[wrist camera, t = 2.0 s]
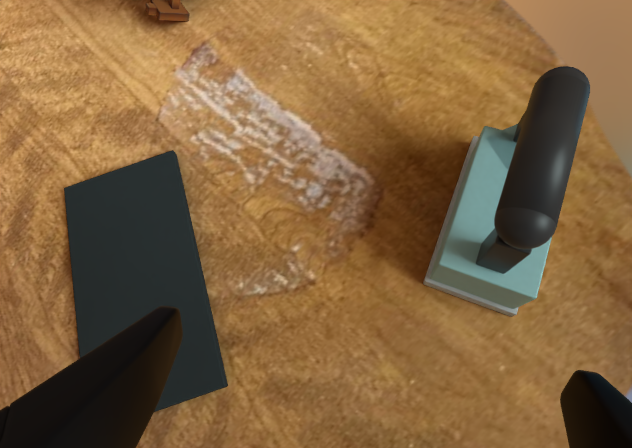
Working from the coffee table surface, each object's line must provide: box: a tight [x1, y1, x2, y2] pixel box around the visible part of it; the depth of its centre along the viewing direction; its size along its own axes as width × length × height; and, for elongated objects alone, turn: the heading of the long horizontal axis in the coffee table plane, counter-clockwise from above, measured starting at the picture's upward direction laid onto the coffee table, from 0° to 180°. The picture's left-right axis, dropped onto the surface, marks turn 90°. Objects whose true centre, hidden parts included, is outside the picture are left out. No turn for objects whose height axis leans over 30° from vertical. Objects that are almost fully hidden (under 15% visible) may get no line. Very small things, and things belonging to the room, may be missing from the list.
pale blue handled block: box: [423, 67, 590, 317], centre depth 20 cm, size 10×5×9 cm, turn 157°
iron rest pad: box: [64, 150, 228, 412], centre depth 25 cm, size 16×8×1 cm, turn 18°
